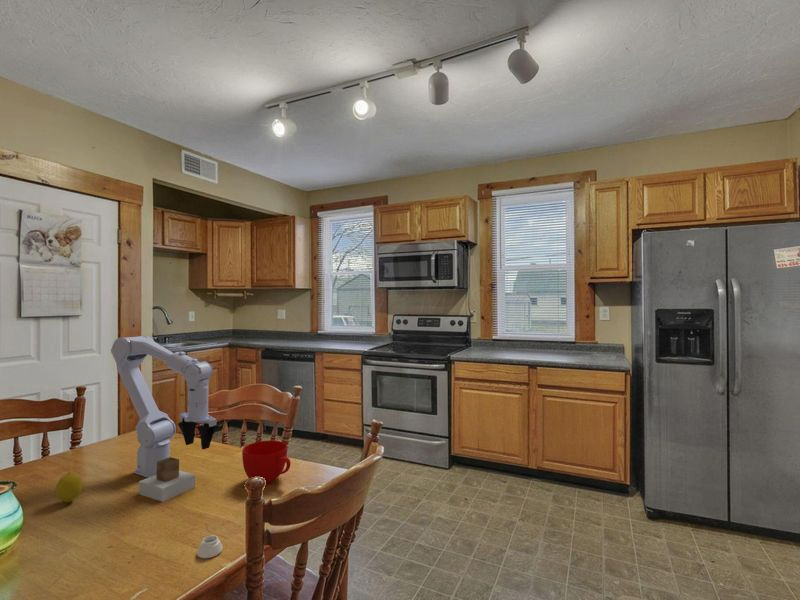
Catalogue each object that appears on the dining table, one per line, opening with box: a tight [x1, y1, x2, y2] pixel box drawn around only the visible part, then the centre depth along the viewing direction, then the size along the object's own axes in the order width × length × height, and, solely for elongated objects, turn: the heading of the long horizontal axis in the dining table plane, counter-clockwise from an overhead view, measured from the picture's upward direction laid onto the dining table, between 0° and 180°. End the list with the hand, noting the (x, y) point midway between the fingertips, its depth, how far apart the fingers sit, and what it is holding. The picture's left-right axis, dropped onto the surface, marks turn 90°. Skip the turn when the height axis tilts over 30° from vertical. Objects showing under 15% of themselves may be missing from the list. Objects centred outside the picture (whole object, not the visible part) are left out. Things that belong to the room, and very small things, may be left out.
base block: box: [138, 469, 196, 503], centre depth 118 cm, size 10×10×4 cm
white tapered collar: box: [196, 534, 224, 559], centre depth 89 cm, size 5×3×5 cm
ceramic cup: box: [241, 440, 292, 486], centre depth 124 cm, size 13×17×10 cm
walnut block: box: [156, 456, 180, 482], centre depth 117 cm, size 4×4×5 cm
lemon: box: [55, 471, 83, 504], centre depth 110 cm, size 6×6×8 cm
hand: (197, 446), depth 127 cm, fingers open, 7 cm apart
